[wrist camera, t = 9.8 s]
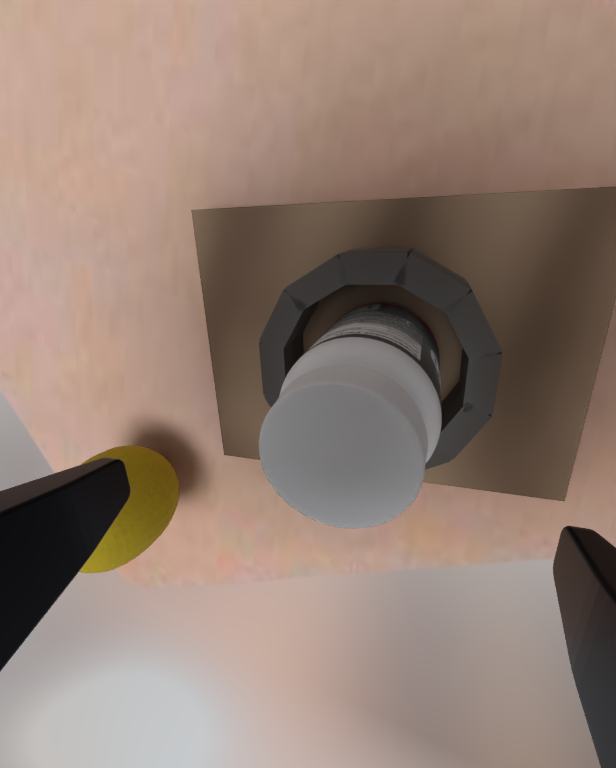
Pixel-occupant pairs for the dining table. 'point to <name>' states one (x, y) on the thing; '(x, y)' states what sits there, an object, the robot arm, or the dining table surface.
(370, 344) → the pill bottle
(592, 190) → the socket board
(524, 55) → the dining table surface
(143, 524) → the lemon
